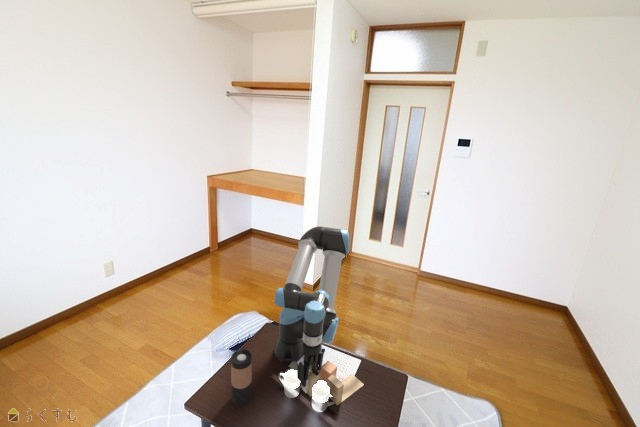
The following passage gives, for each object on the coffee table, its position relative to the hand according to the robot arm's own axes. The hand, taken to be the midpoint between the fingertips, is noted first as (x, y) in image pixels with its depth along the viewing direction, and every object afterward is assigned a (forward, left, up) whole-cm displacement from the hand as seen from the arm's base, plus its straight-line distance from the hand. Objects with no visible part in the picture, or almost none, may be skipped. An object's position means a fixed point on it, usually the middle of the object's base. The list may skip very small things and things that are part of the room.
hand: (308, 388), depth 122 cm
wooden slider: (0, +7, -2) cm, 7 cm away
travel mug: (-14, -22, -2) cm, 27 cm away
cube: (0, +11, -1) cm, 11 cm away
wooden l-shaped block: (+9, +12, -2) cm, 15 cm away
